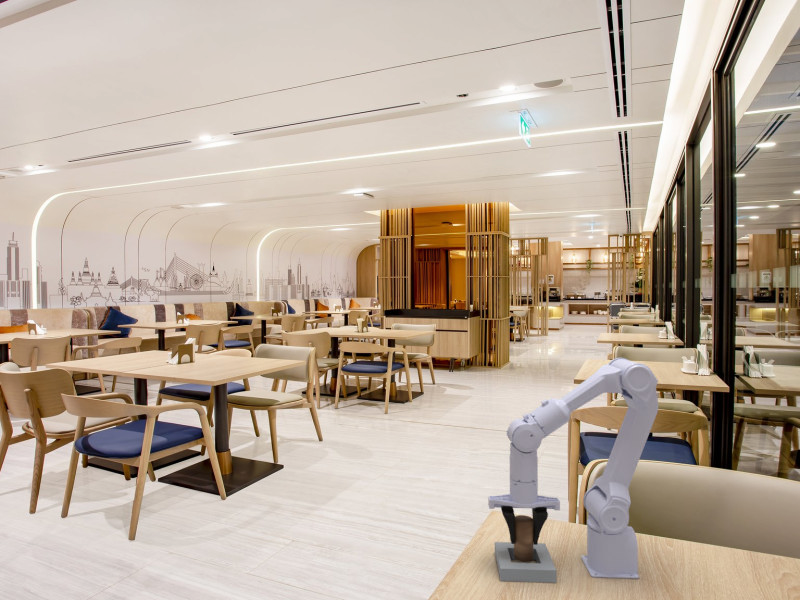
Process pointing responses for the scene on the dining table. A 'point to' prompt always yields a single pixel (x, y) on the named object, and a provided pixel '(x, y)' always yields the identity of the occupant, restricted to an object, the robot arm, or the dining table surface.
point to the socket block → (525, 564)
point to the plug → (523, 538)
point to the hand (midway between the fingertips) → (523, 542)
